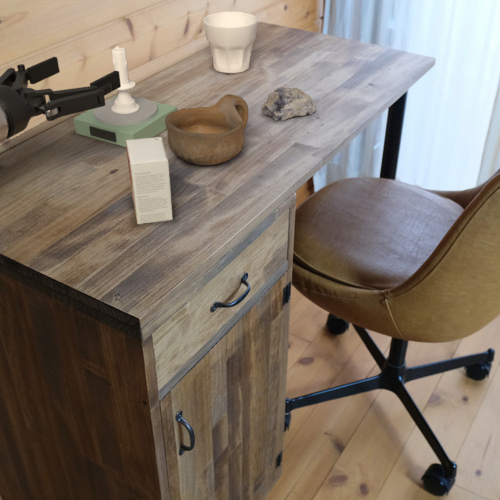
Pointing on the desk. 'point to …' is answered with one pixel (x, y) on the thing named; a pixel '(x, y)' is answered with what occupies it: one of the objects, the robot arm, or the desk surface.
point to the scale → (124, 121)
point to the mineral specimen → (288, 104)
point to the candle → (123, 84)
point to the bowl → (208, 131)
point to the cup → (231, 39)
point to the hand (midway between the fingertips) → (86, 71)
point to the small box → (149, 180)
